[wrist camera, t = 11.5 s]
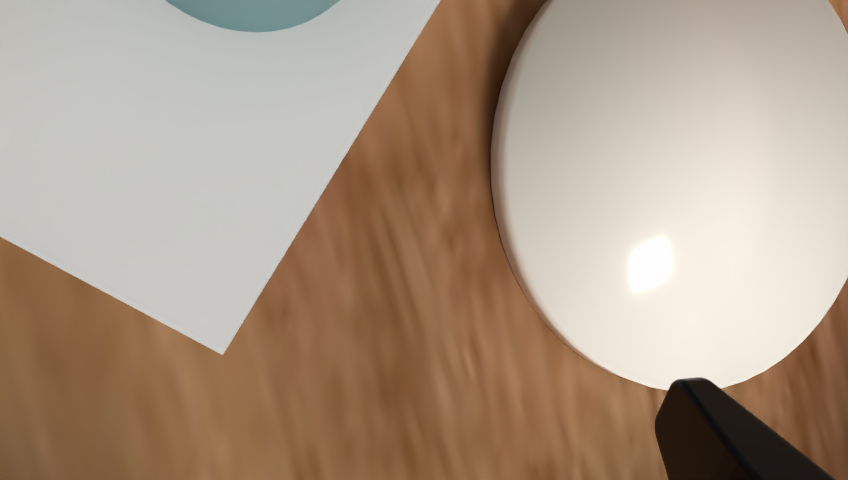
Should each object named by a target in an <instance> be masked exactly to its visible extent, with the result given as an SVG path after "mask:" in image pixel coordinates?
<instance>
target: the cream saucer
mask: <svg viewBox="0 0 848 480" xmlns="http://www.w3.org/2000/svg"><path fill="white" fill-rule="evenodd" d="M491 188H492V195H493V203H494V211H495V217H496V221H497V225H498V229H499V233H500V237H501V241H502V245H503V248H504V251H505V253H506V256H507V258H508V261H509V264H510V266H511V269H512V271H513V274H514V276H515V278H516V280H517V281H518V283H519V285H520V287H521V289H522V291H523V293H524V294H525V296H526V298H527V300H528V302H529V303H530V304H531V306H532V307H533V308H534V310H535V311H536V313H537V314H538V315H539V317H540V318H541V319H542V321H543V322H544V324H545V325H546V326H547V327H548V328H549V329H550V330H551V331H552V332H553V333H554V334H555V335H556V336H557V337H558V338H559V339H560V340H561V341H562V342H563V343H564V344H565V345H566V346H568V347H569V348H570V349H572V350H573V351H574V352H576V353H577V354H578V355H579V356H581V357H582V358H583V359H585V360H587V361H589V362H590V363H592V364H594V365H596V366H598V367H599V368H601V369H603V370H605V371H607V372H610V373H613V374H615V375H618V376H621V377H624V378H626V379H629V380H632V381H635V382H637V383H640V384H643V385H646V386H649V387H652V388H657V389H663V390H669V387H670V385H671V384H672V383H673V382H674V381H675V380H677V379H684V378H695V377H702V378H706V379H708V380H710V381H711V382H713V383H714V384H715V385H717V386H718V387H719V388H724V387H727V386H730V385H733V384H737V383H740V382H743V381H745V380H747V379H749V378H751V377H753V376H755V375H757V374H759V373H762V372H764V371H765V370H767V369H768V368H770V367H771V366H773V365H774V364H776V363H777V362H779V361H780V360H782V359H783V358H785V357H786V356H787V355H788V354H789V353H790V352H791V351H793V350H794V349H795V348H796V347H797V346H798V345H799V344H800V343H802V342H803V341H804V340H805V338H806V337H807V336H808V335H809V334H810V333H811V332H812V331H813V329H814V328H815V327H816V326H817V325H818V324H819V323H820V321H821V320H822V318H823V317H824V316H825V314H826V313H827V311H828V310H829V308H830V307H831V306H832V304H833V303H834V301H835V299H836V298H837V296H838V294H839V292H840V290H841V288H842V287H843V285H844V283H845V281H846V279H847V277H848V34H847V32H846V30H845V28H844V26H843V24H842V22H841V20H840V18H839V17H838V15H837V14H836V12H835V10H834V9H833V7H832V6H831V4H830V3H829V1H828V0H547V1H546V2H545V3H544V4H543V5H542V6H541V8H540V9H539V11H538V12H537V14H536V15H535V17H534V18H533V20H532V21H531V23H530V24H529V26H528V27H527V28H526V30H525V32H524V34H523V36H522V38H521V40H520V42H519V44H518V46H517V48H516V50H515V52H514V54H513V56H512V58H511V61H510V64H509V67H508V69H507V72H506V75H505V78H504V81H503V83H502V86H501V90H500V95H499V99H498V103H497V108H496V112H495V117H494V124H493V133H492V143H491Z"/></svg>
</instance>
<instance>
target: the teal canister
mask: <svg viewBox="0 0 848 480" xmlns="http://www.w3.org/2000/svg"><path fill="white" fill-rule="evenodd" d="M165 1H167V2H168V3H169V4H171V5H173V6H174V7H176V8H177V9H179V10H181V11H182V12H184V13H186V14H188V15H190V16H192V17H194V18H196V19H198V20H200V21H202V22H205V23H208V24H211V25H214V26H217V27H220V28H225V29H230V30H235V31H244V32H270V31H278V30H282V29H287V28H291V27H294V26H297V25H300V24H303V23H305V22H308V21H309V20H311V19H313V18H315V17H317V16H319V15H321V14H322V13H323V12H325V11H326V10H328V9H329V8H330V7H332V6H333V5H334V4H336V3H337V2H338V1H340V0H165Z"/></svg>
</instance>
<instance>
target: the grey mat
mask: <svg viewBox="0 0 848 480" xmlns="http://www.w3.org/2000/svg"><path fill="white" fill-rule="evenodd" d="M439 2H440V0H340V1H338V2H337V3H336V4H334V5H333V6H332V7H330V8H329V9H328V10H326V11H325V12H323V13H322V14H321V15H319V16H317V17H315V18H313V19H311V20H309V21H308V22H305V23H303V24H300V25H297V26H294V27H291V28H287V29H282V30H278V31H270V32H244V31H235V30H230V29H225V28H220V27H217V26H214V25H211V24H208V23H205V22H202V21H200V20H198V19H196V18H194V17H192V16H190V15H188V14H186V13H184V12H182V11H181V10H179V9H177V8H176V7H174V6H173V5H171V4H169V3H168V2H167V1H165V0H0V237H2V238H4V239H6V240H8V241H9V242H11V243H13V244H15V245H17V246H19V247H21V248H23V249H25V250H26V251H28V252H30V253H32V254H34V255H36V256H38V257H40V258H41V259H43V260H45V261H47V262H49V263H51V264H53V265H55V266H56V267H58V268H60V269H62V270H64V271H66V272H68V273H70V274H71V275H73V276H75V277H77V278H79V279H81V280H83V281H85V282H86V283H88V284H90V285H92V286H94V287H96V288H98V289H100V290H102V291H103V292H105V293H107V294H109V295H111V296H113V297H115V298H117V299H118V300H120V301H122V302H124V303H126V304H128V305H130V306H132V307H133V308H135V309H137V310H139V311H141V312H143V313H145V314H147V315H148V316H150V317H152V318H154V319H156V320H158V321H160V322H162V323H164V324H165V325H167V326H169V327H171V328H173V329H175V330H177V331H179V332H180V333H182V334H184V335H186V336H188V337H190V338H192V339H194V340H195V341H197V342H199V343H201V344H203V345H205V346H207V347H209V348H210V349H212V350H214V351H216V352H218V353H220V354H222V355H223V353H224V352H225V350H226V349H227V347H228V345H229V344H230V342H231V340H232V339H233V337H234V336H235V334H236V332H237V331H238V329H239V327H240V326H241V324H242V322H243V321H244V319H245V318H246V316H247V314H248V313H249V311H250V309H251V308H252V306H253V305H254V303H255V301H256V300H257V298H258V296H259V295H260V293H261V292H262V290H263V288H264V287H265V285H266V283H267V282H268V280H269V279H270V277H271V275H272V274H273V272H274V270H275V269H276V267H277V265H278V264H279V262H280V261H281V259H282V257H283V256H284V254H285V252H286V251H287V249H288V248H289V246H290V244H291V243H292V241H293V239H294V238H295V236H296V235H297V233H298V231H299V230H300V228H301V226H302V225H303V223H304V222H305V220H306V218H307V217H308V215H309V213H310V212H311V210H312V208H313V207H314V205H315V204H316V202H317V200H318V199H319V197H320V195H321V194H322V192H323V191H324V189H325V187H326V186H327V184H328V182H329V181H330V179H331V178H332V176H333V174H334V173H335V171H336V169H337V168H338V166H339V164H340V163H341V161H342V160H343V158H344V156H345V155H346V153H347V151H348V150H349V148H350V147H351V145H352V143H353V142H354V140H355V138H356V137H357V135H358V134H359V132H360V130H361V129H362V127H363V125H364V124H365V122H366V121H367V119H368V117H369V116H370V114H371V112H372V111H373V109H374V107H375V106H376V104H377V103H378V101H379V99H380V98H381V96H382V94H383V93H384V91H385V90H386V88H387V86H388V85H389V83H390V81H391V80H392V78H393V77H394V75H395V73H396V72H397V70H398V68H399V67H400V65H401V64H402V62H403V60H404V59H405V57H406V55H407V54H408V52H409V50H410V49H411V47H412V46H413V44H414V42H415V41H416V39H417V37H418V36H419V34H420V33H421V31H422V29H423V28H424V26H425V24H426V23H427V21H428V20H429V18H430V16H431V15H432V13H433V11H434V10H435V8H436V6H437V5H438V3H439Z"/></svg>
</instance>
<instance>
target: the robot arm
mask: <svg viewBox="0 0 848 480" xmlns="http://www.w3.org/2000/svg"><path fill="white" fill-rule="evenodd" d="M655 434H656V438H657V441H658V445H659V448H660V452H661V455H662V459H663V462H664V465H665V469H666V472H667V476H668V479H669V480H835V479H834V478H833V477H832V476H830V475H829V474H828V473H826V472H825V471H824V470H823V469H821V468H820V467H819V466H818V465H816V464H815V463H814V462H813V461H811V460H810V459H809V458H808V457H806V456H805V455H804V454H802V453H801V452H800V451H799V450H797V449H796V448H795V447H794V446H792V445H791V444H790V443H789V442H787V441H786V440H785V439H784V438H782V437H781V436H780V435H778V434H777V433H776V432H775V431H773V430H772V429H771V428H770V427H768V426H767V425H766V424H765V423H763V422H762V421H761V420H760V419H758V418H757V417H756V416H754V415H753V414H752V413H751V412H749V411H748V410H747V409H746V408H744V407H743V406H742V405H741V404H739V403H738V402H737V401H736V400H734V399H733V398H732V397H730V396H729V395H728V394H727V393H725V392H724V391H723V390H722V389H720V388H719V387H718V386H717V385H715V384H714V383H713V382H711V381H710V380H708V379H706V378H702V377H695V378H684V379H677V380H675V381H674V382H673V383H672V384H671V385H670V387H669V390H668V392H667V394H666V396H665V398H664V400H663V403H662V405H661V407H660V409H659V411H658V414H657V416H656V420H655Z"/></svg>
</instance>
